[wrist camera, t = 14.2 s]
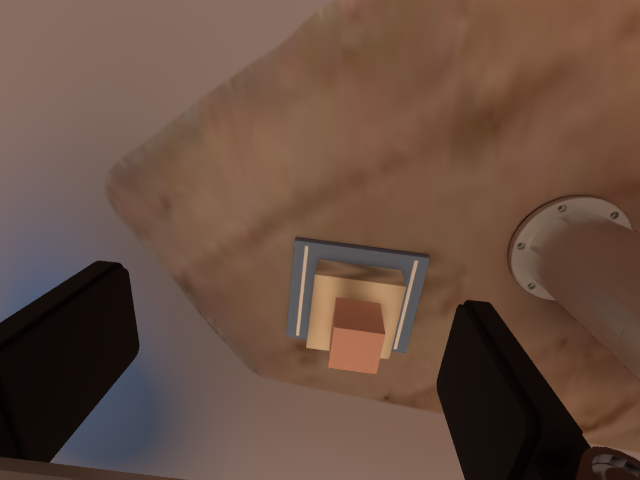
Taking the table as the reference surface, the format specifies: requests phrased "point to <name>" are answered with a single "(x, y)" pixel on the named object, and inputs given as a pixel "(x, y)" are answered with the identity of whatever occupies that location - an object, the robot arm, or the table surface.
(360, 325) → the terracotta block
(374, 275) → the maple base block
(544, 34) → the table surface
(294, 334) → the board
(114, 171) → the table surface
